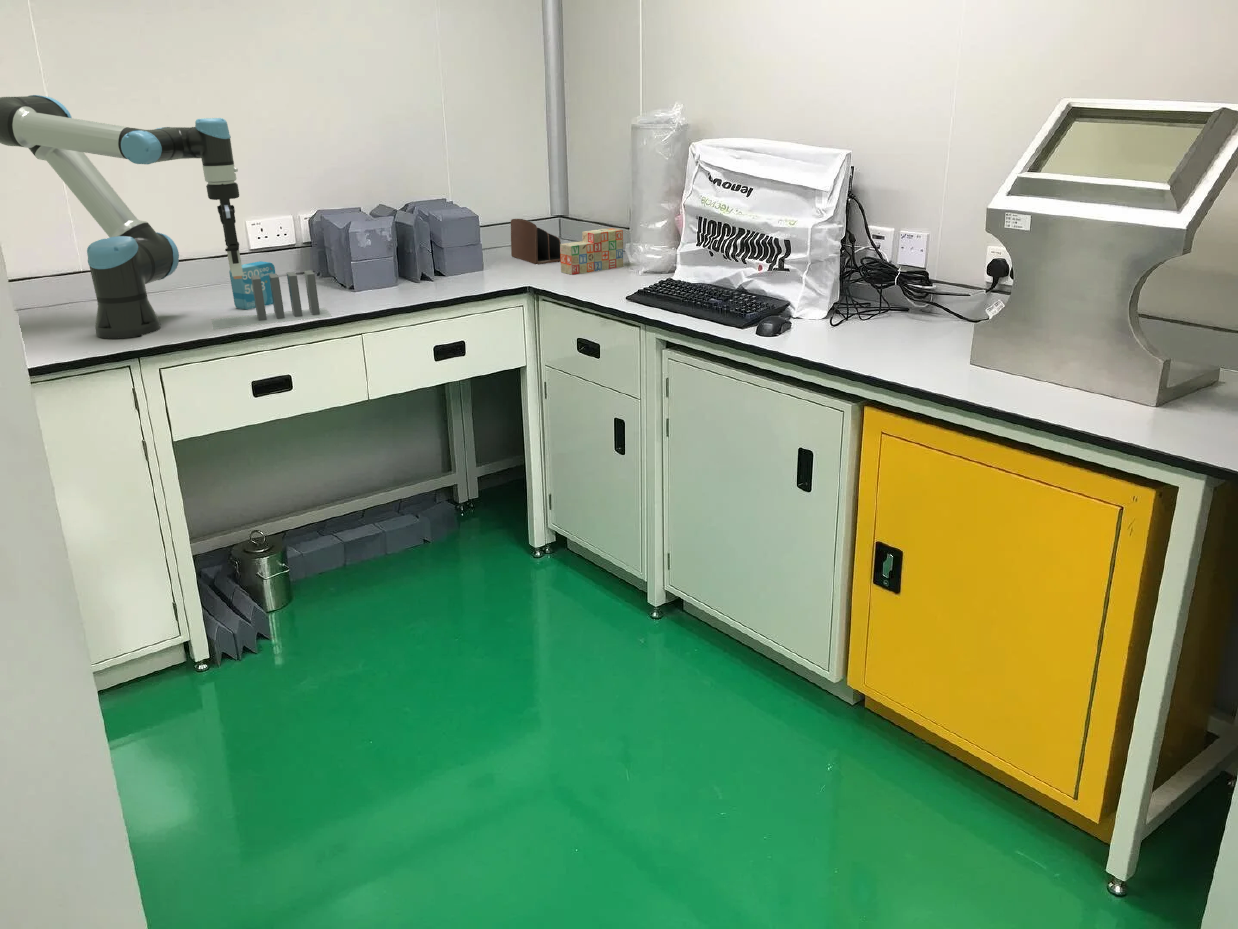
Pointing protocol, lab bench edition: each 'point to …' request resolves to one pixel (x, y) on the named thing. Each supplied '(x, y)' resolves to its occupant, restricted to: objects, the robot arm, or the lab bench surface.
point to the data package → (244, 286)
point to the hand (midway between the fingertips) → (236, 273)
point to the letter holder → (533, 243)
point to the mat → (270, 319)
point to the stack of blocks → (593, 252)
